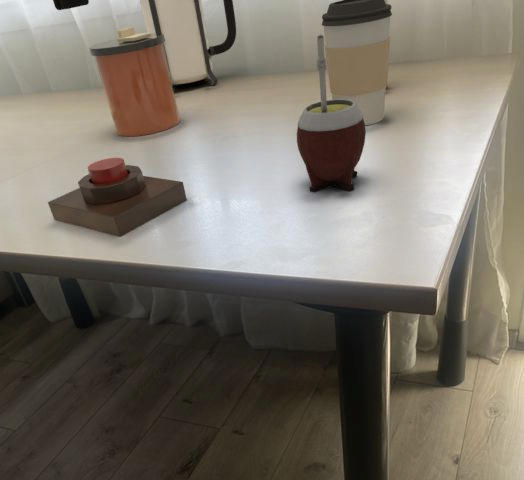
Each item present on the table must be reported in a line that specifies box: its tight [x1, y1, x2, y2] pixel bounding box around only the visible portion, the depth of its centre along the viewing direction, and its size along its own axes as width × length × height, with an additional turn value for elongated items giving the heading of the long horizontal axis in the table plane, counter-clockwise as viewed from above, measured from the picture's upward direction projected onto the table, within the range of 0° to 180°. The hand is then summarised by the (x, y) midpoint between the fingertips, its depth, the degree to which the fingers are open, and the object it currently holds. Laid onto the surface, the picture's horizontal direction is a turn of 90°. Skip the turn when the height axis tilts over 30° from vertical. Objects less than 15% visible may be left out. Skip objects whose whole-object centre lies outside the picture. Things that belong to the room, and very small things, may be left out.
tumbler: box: [88, 33, 181, 137], centre depth 88 cm, size 12×12×13 cm
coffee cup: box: [321, 0, 393, 127], centre depth 72 cm, size 9×9×15 cm
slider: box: [116, 26, 152, 42], centre depth 82 cm, size 4×4×2 cm
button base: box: [47, 164, 188, 238], centre depth 60 cm, size 12×10×4 cm
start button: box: [87, 157, 128, 184], centre depth 58 cm, size 4×4×2 cm
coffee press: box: [139, 0, 237, 93], centre depth 108 cm, size 17×16×30 cm
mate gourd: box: [296, 34, 367, 193], centre depth 53 cm, size 8×8×15 cm
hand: (73, 6), depth 55 cm, fingers closed
